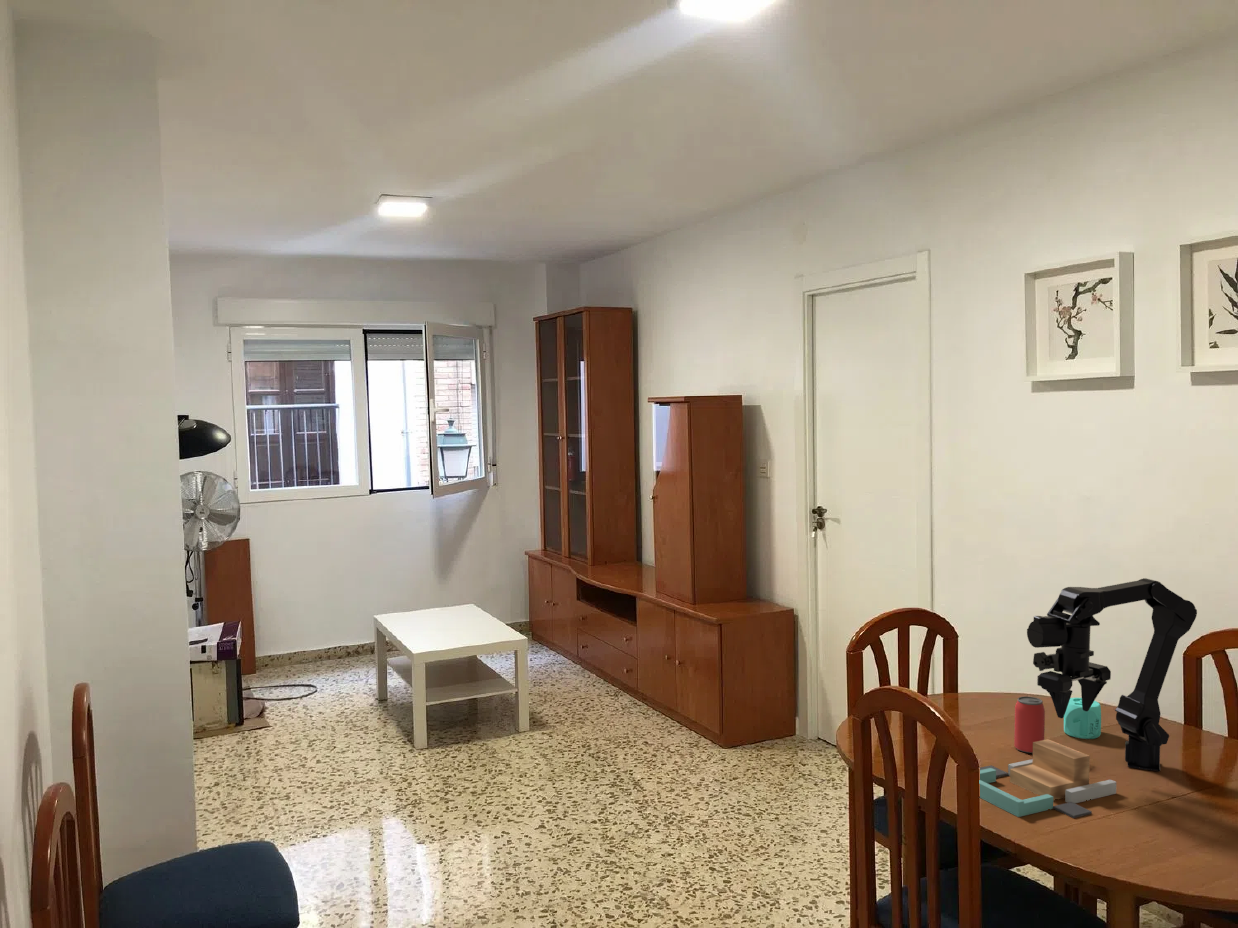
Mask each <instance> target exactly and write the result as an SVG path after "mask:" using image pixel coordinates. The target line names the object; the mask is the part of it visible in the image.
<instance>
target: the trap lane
mask: <svg viewBox="0 0 1238 928" xmlns="http://www.w3.org/2000/svg"><path fill="white" fill-rule="evenodd" d="M1032 761H1033V758H1031V759H1027V760H1022V761H1018V762H1013V763H1009V764H1008V765H1007V768H1008V769H1007V771H1005V770H1002V769H1000V768H998V767H996V766H994V765H991V764H990V765H986V766H980V767H979V768H980V780H979V784H980V799H982V800H984V801H986V802H988V803H990V804H991V805H993V806H994V807H997V808H999V809H1002V810H1003V811H1005V812H1008V814H1012V815H1014V816H1015V817H1017V818H1020V817H1024V816H1029V815H1032V814H1037V813H1042V812H1044V811H1049V810H1048V809H1050V810H1052V809H1053V810H1054V811H1057V812H1060V813H1062V814H1063V813H1064V815H1065V814H1066V816H1068V817H1070V818H1072V819H1076V818H1080V817H1084V816H1088V815H1092V813H1093V812H1092V810H1090V809H1087V808H1085V807H1083V806H1082V805H1080V804H1078V803H1082V802H1086V800H1087V801H1091V800H1096V799H1100V798H1103V797H1107V796H1112V795H1115V794H1117V781H1115V780H1112V779H1107V780H1102V781H1098V782H1094V783H1089V785H1084V786H1080V787H1076V788H1071V789H1067V790H1065V798H1064V799H1065V801H1064V802H1065V803H1061V804H1058V805H1054V800H1053V796H1051V795H1049V794H1045V795H1041V796H1038V795H1036V796H1033V797H1029V798H1025V799H1024V798H1023V799H1020V798H1018V797H1017V796H1015V795H1012V794H1010V793H1008V792H1007V791H1004V790H1001V789H999V788H998V787H996V786H994V785H992V784H990V783H994V782H997V778H1001V777H1007V776H1008V777H1010V769H1013V768H1018V767H1022V766H1027V765H1032ZM1090 799H1091V800H1090Z"/></svg>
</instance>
